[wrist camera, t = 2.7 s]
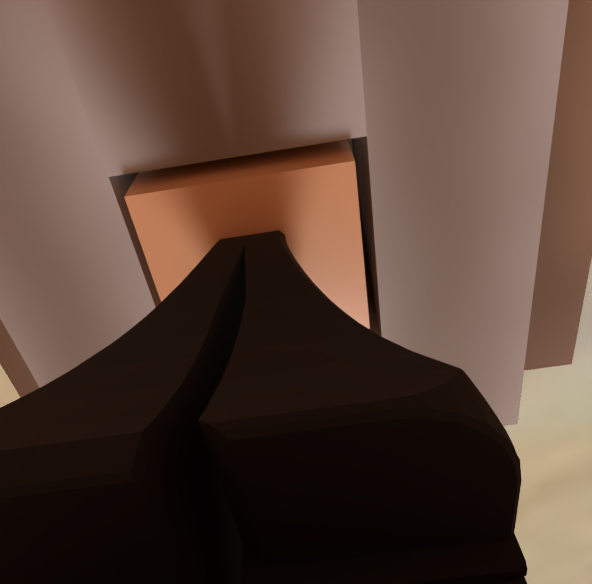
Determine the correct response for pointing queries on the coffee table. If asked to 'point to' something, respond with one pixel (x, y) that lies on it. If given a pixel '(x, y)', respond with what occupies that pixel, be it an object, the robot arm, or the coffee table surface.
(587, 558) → the coffee table surface
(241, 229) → the button
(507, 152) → the button board
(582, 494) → the coffee table surface
